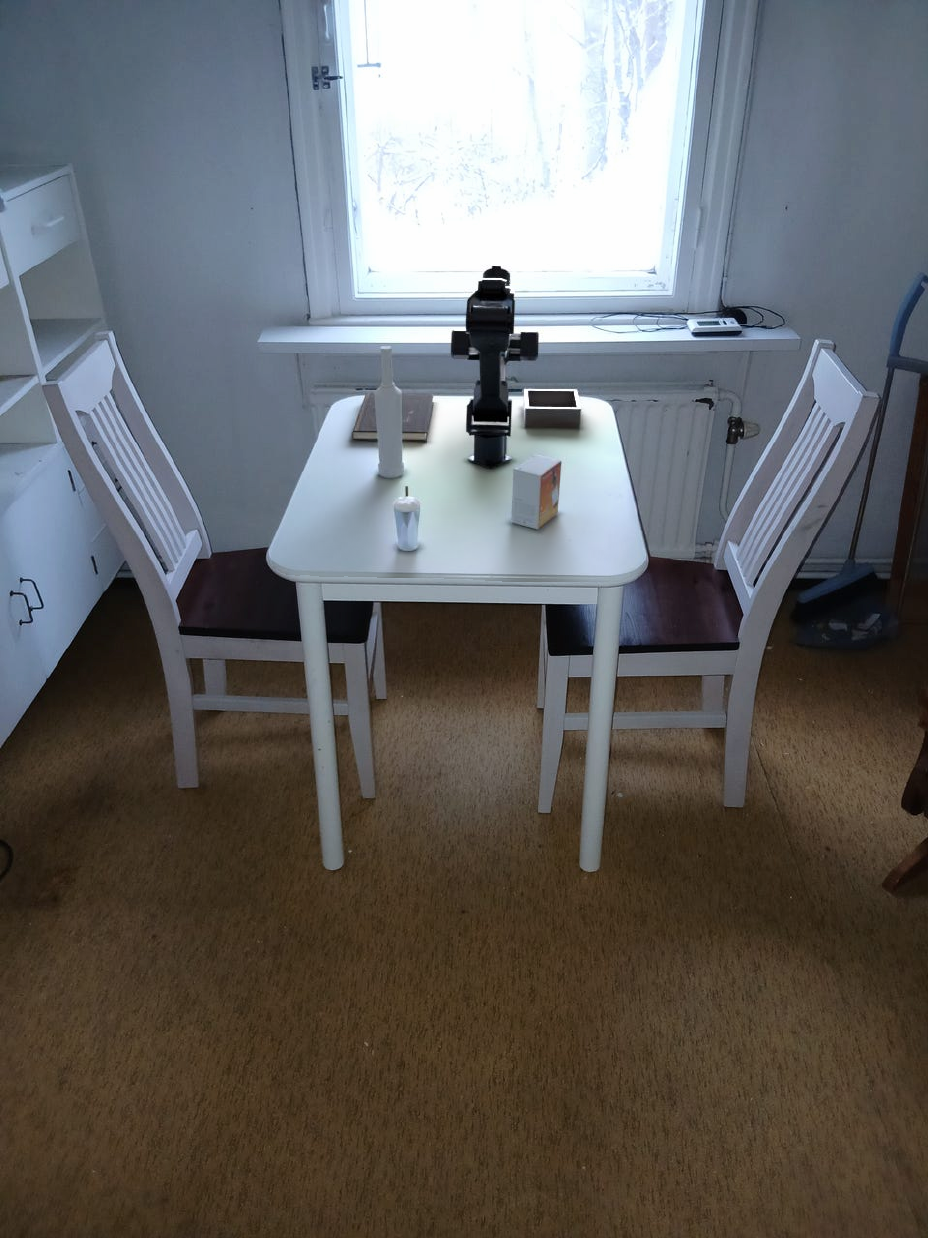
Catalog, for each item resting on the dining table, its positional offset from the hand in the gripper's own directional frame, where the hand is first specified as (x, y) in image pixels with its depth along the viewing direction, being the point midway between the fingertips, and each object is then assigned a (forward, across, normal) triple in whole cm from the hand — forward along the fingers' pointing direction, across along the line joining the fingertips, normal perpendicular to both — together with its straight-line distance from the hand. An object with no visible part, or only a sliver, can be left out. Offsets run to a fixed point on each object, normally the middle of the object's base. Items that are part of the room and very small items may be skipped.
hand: (494, 363), depth 205 cm
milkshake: (-38, +13, +54) cm, 67 cm away
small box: (-30, -9, +46) cm, 56 cm away
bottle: (-17, +20, +33) cm, 42 cm away
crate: (+5, -13, +11) cm, 18 cm away
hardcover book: (+2, +22, +14) cm, 26 cm away
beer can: (+4, 0, +6) cm, 7 cm away
